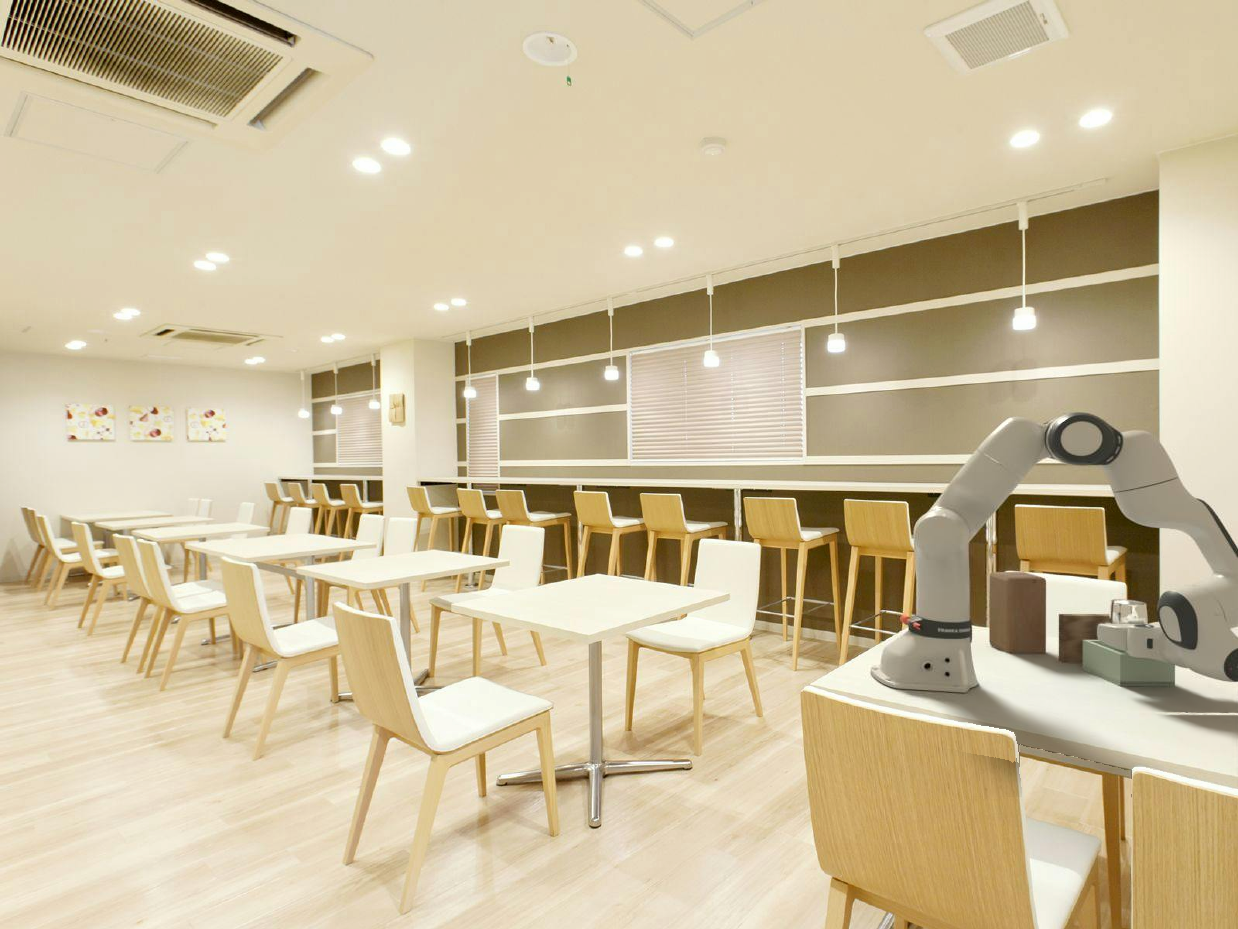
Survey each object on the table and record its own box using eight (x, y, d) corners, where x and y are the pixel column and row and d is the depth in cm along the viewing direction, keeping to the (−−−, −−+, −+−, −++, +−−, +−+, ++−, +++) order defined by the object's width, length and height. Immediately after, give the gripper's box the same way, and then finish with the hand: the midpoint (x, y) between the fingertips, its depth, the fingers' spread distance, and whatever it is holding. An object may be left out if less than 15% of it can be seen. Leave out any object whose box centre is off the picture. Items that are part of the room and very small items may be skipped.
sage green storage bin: (1120, 686, 147) (1120, 654, 147) (1082, 669, 159) (1082, 639, 159) (1175, 686, 147) (1175, 654, 147) (1133, 669, 159) (1133, 640, 159)
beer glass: (1154, 673, 149) (1154, 606, 149) (1118, 671, 151) (1118, 604, 151) (1137, 664, 156) (1137, 599, 156) (1103, 662, 157) (1103, 598, 157)
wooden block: (1047, 655, 172) (1047, 577, 172) (1008, 655, 172) (1008, 577, 172) (1024, 645, 182) (1024, 571, 182) (987, 645, 182) (987, 571, 182)
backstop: (1118, 690, 146) (1119, 635, 146) (1058, 662, 166) (1058, 614, 166) (1183, 690, 146) (1183, 635, 146) (1115, 662, 166) (1115, 614, 166)
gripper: (1223, 627, 140) (1169, 612, 154) (1125, 627, 140) (1080, 612, 154) (1223, 657, 140) (1169, 640, 154) (1125, 657, 140) (1080, 639, 154)
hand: (1124, 626), depth 154 cm, fingers closed on beer glass, 6 cm apart
